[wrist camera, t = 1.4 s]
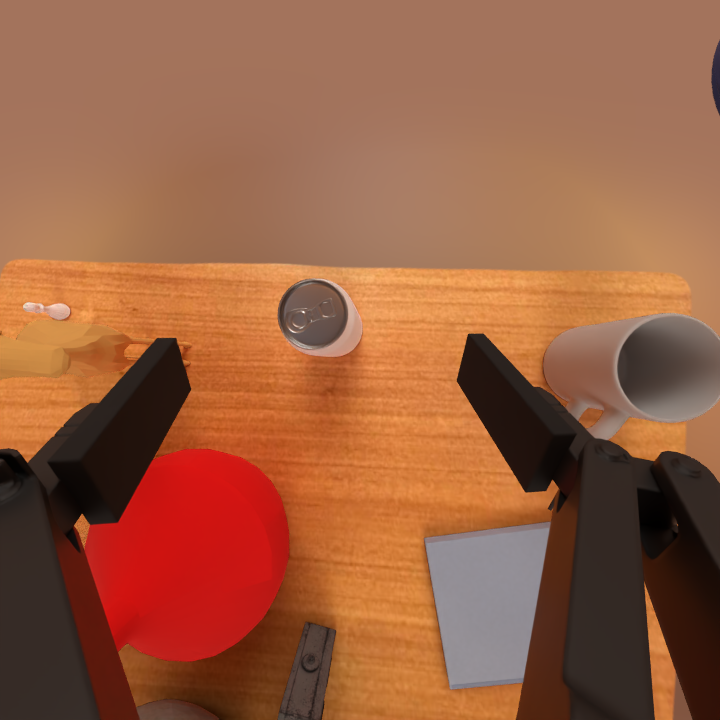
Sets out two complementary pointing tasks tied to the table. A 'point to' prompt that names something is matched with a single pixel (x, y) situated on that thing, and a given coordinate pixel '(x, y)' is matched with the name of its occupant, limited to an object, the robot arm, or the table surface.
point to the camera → (309, 675)
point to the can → (319, 318)
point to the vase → (191, 556)
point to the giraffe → (67, 350)
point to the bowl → (173, 711)
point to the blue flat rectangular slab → (487, 600)
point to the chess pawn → (49, 309)
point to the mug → (636, 370)
